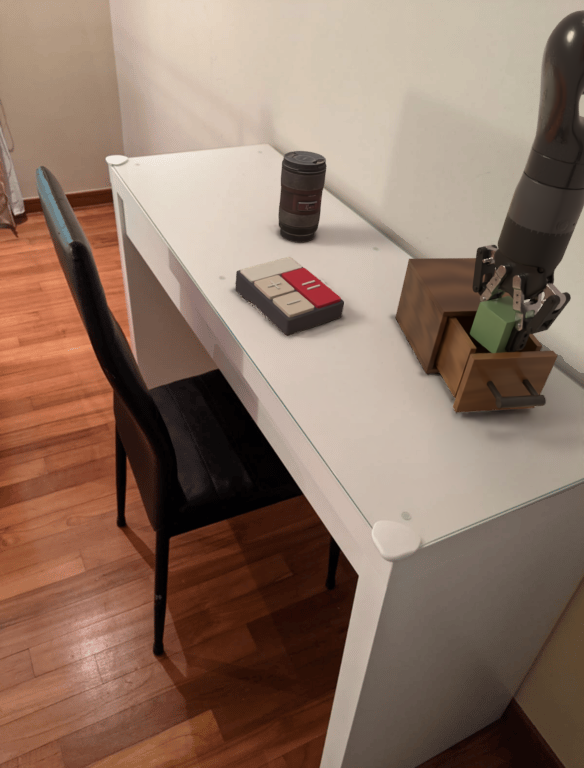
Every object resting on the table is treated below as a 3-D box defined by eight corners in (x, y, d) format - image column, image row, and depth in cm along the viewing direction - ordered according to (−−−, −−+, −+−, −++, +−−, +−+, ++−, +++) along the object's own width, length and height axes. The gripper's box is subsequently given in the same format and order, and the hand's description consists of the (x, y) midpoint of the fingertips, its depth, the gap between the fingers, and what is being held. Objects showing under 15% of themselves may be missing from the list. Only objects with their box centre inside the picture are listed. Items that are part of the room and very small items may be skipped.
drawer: (550, 431, 79) (576, 378, 73) (469, 436, 77) (489, 383, 71) (492, 348, 92) (510, 298, 87) (421, 351, 90) (435, 300, 85)
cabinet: (506, 370, 90) (530, 309, 83) (425, 374, 88) (443, 311, 81) (467, 315, 101) (485, 257, 94) (395, 317, 98) (408, 258, 92)
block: (497, 327, 83) (509, 295, 80) (523, 347, 79) (536, 315, 76) (469, 334, 81) (479, 302, 78) (494, 355, 77) (506, 323, 74)
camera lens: (323, 231, 121) (333, 155, 111) (309, 247, 115) (318, 168, 105) (285, 222, 123) (292, 146, 113) (270, 237, 117) (275, 159, 107)
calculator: (289, 316, 89) (235, 266, 98) (286, 339, 92) (234, 289, 101) (346, 297, 95) (291, 252, 103) (342, 320, 98) (288, 274, 106)
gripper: (615, 239, 66) (558, 364, 77) (521, 188, 75) (482, 305, 86) (566, 249, 63) (513, 377, 74) (475, 195, 72) (440, 315, 83)
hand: (497, 338), depth 80 cm, fingers closed on block, 5 cm apart
